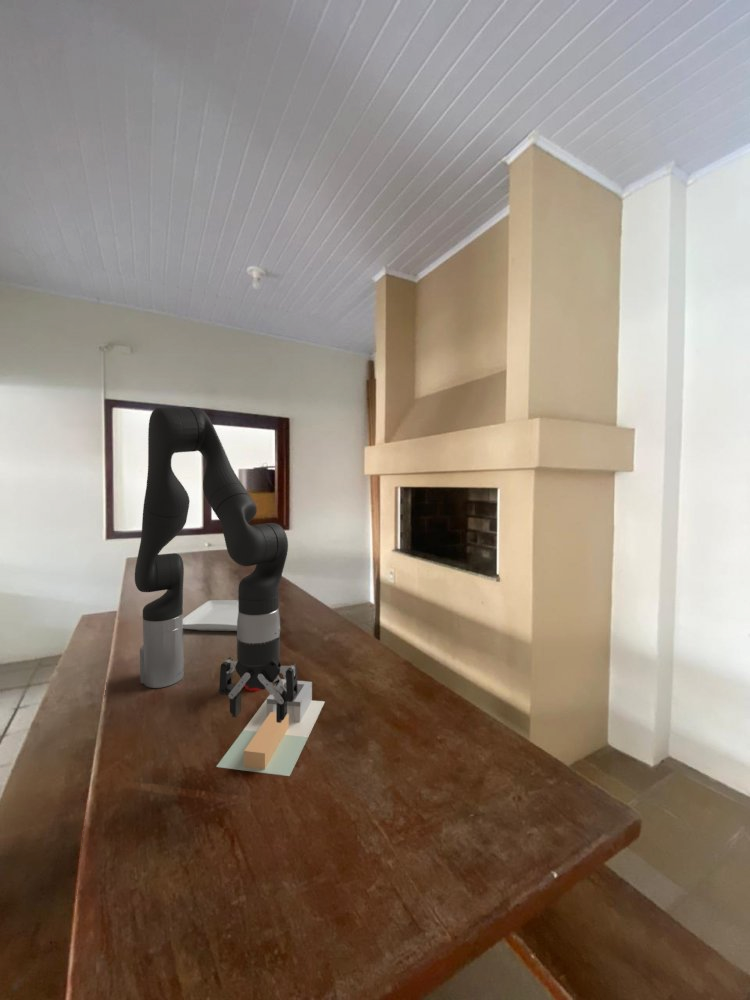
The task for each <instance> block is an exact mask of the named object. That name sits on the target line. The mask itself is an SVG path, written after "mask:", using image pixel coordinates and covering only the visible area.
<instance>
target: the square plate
mask: <svg viewBox="0 0 750 1000" xmlns="http://www.w3.org/2000/svg"><path fill="white" fill-rule="evenodd" d="M238 611H239V610H238V599H237V600H235V599H228V600H227V599H223V600H218V599H215V600H211V599H210V600H207V601H205V602H204V603H202V604H201V605H200V606H198V607H197V608H195V609H194V610H193V611H191V612H190V613H188V614H187V615H186V616H183V630H196V631H210V632H211V631H219V632H222V631H225V632H237V619H238Z"/></svg>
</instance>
